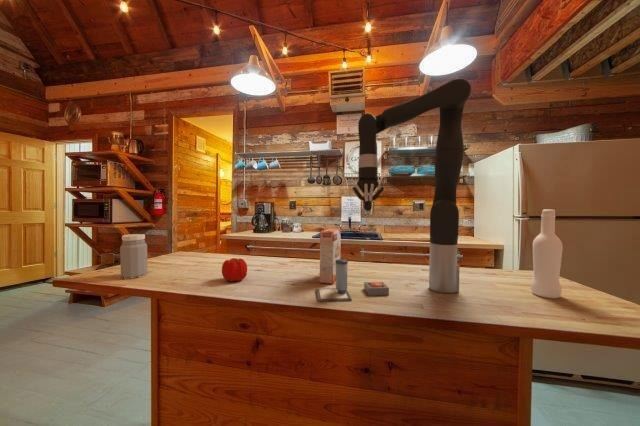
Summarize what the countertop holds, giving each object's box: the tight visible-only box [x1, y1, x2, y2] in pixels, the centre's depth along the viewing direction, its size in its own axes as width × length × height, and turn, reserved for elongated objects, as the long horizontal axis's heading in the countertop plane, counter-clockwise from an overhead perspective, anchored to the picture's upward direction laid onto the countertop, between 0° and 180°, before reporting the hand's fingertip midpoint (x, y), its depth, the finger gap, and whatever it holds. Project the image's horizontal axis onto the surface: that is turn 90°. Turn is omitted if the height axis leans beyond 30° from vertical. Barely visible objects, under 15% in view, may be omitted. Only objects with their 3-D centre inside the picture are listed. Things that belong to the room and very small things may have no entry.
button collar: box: [363, 281, 390, 297], centre depth 94 cm, size 7×7×2 cm
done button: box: [370, 281, 382, 287], centre depth 93 cm, size 4×4×2 cm
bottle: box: [530, 208, 564, 299], centre depth 90 cm, size 8×8×30 cm
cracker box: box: [319, 228, 342, 285], centre depth 109 cm, size 14×6×21 cm, turn 163°
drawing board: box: [315, 287, 353, 303], centre depth 90 cm, size 11×11×1 cm
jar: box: [119, 233, 149, 279], centre depth 113 cm, size 10×10×18 cm
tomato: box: [221, 257, 248, 282], centre depth 107 cm, size 11×11×9 cm
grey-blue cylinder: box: [335, 258, 349, 294], centre depth 90 cm, size 4×4×11 cm
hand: (367, 210), depth 103 cm, fingers closed
